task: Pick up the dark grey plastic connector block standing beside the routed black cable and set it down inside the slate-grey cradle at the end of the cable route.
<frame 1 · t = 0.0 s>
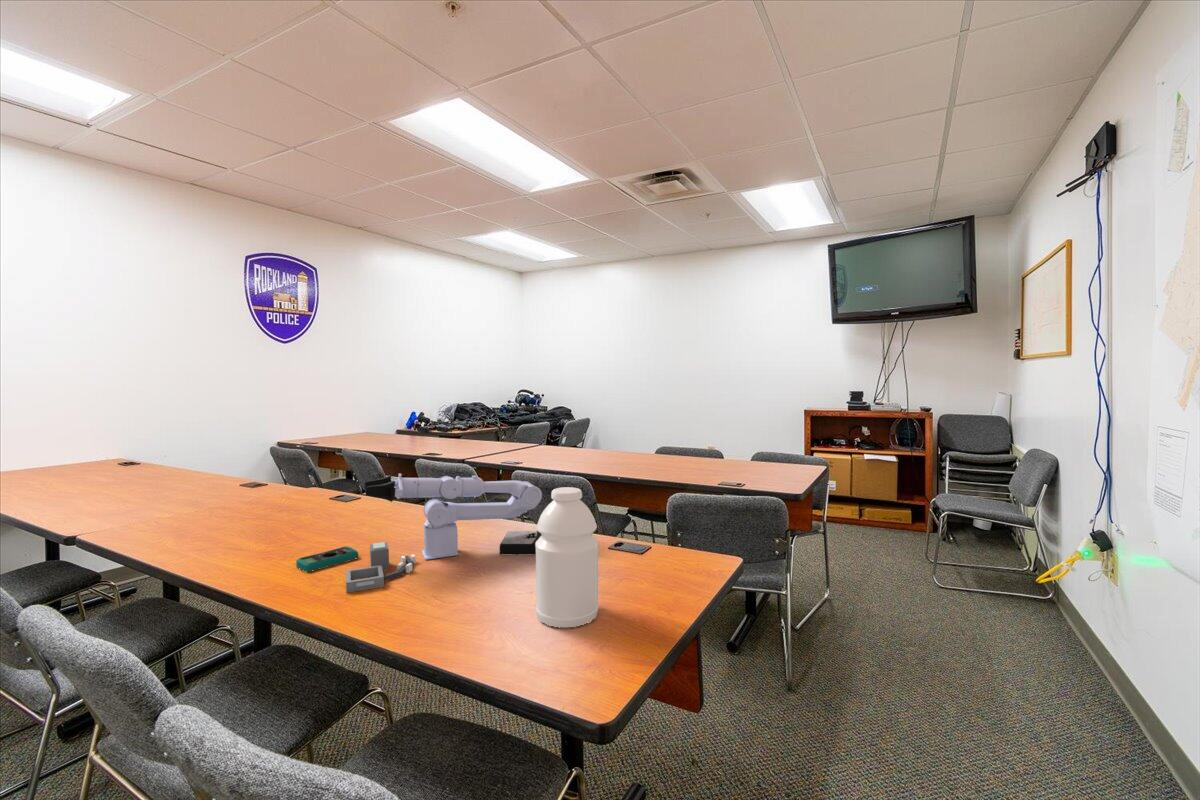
hand: (365, 488, 145), 22 cm above the table, tool horizontal, fingers open, 7 cm apart
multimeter: (534, 549, 160), on the table
connector block: (379, 567, 143), on the table
bottle: (567, 615, 115), on the table
routed cable: (404, 568, 142), on the table
cradle: (364, 583, 133), on the table
digital multimeter: (328, 564, 148), on the table
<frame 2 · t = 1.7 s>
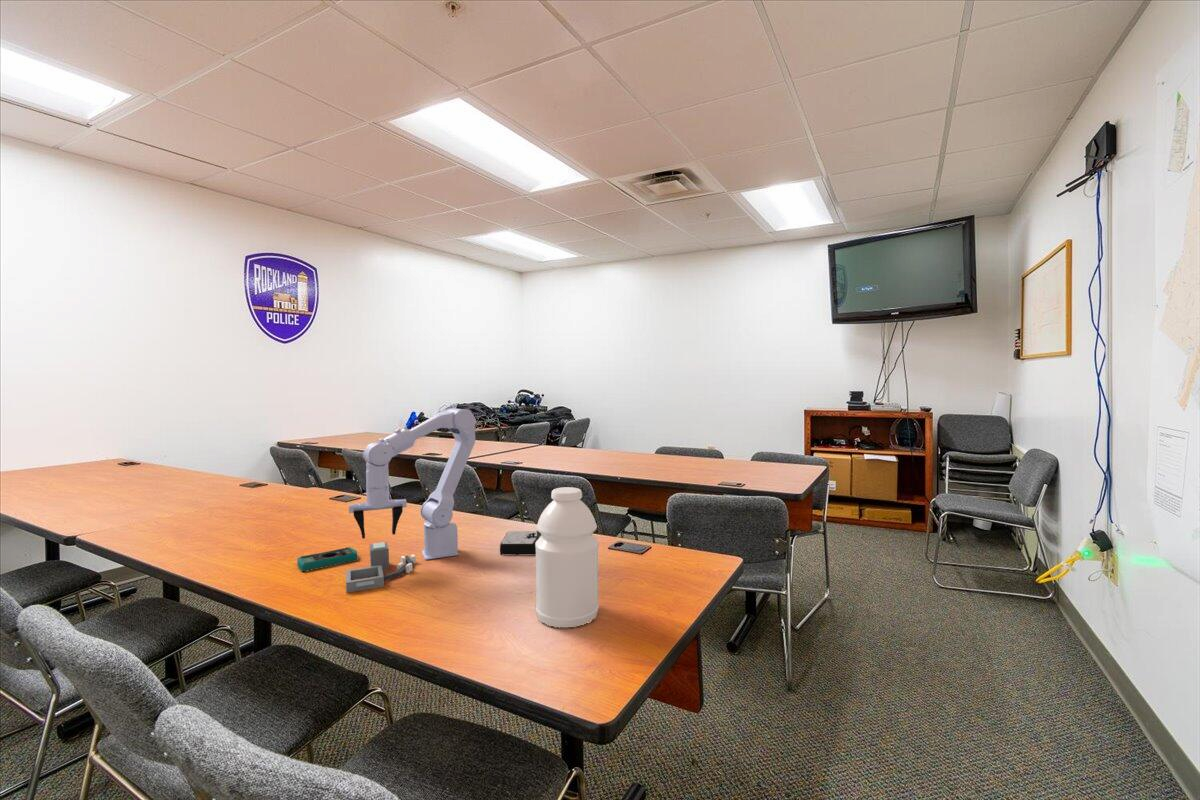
hand: (378, 535, 143), 9 cm above the table, tool pointing down, fingers open, 7 cm apart
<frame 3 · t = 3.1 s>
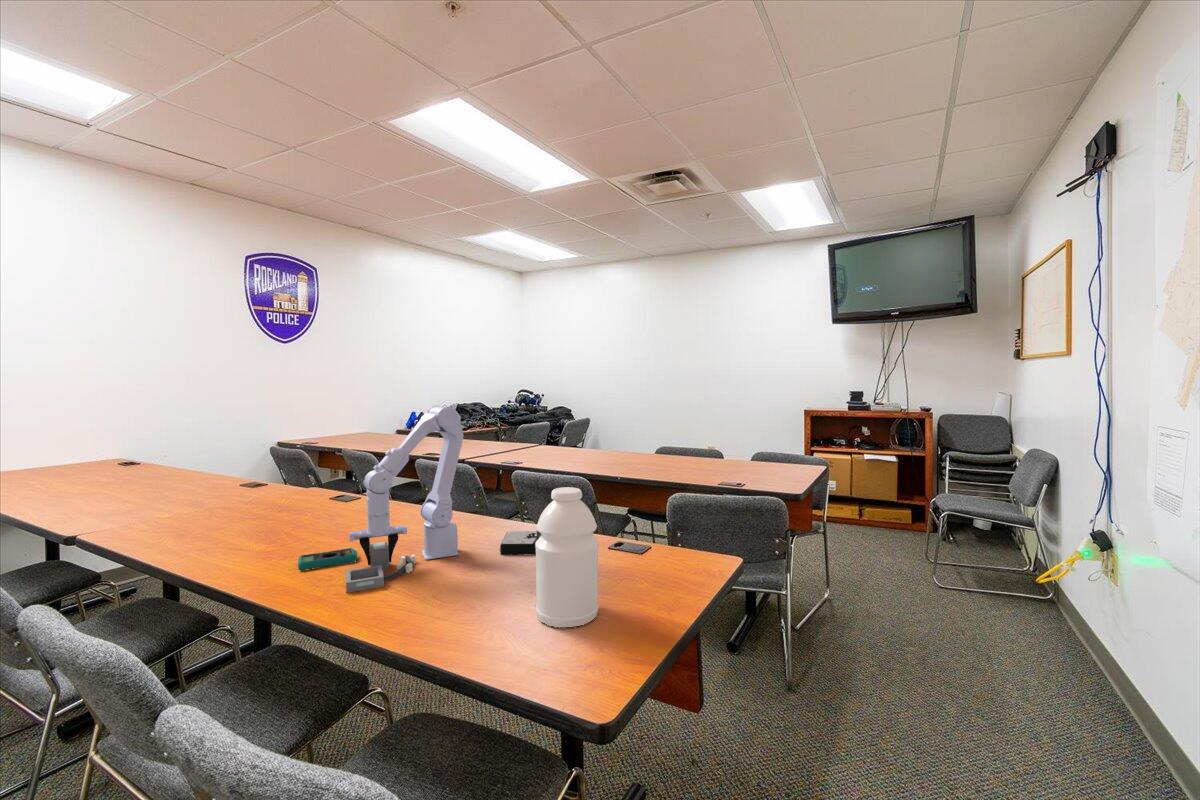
hand: (379, 562, 143), 1 cm above the table, tool pointing down, fingers closed on connector block, 4 cm apart
connector block: (379, 567, 143), on the table, touching gripper
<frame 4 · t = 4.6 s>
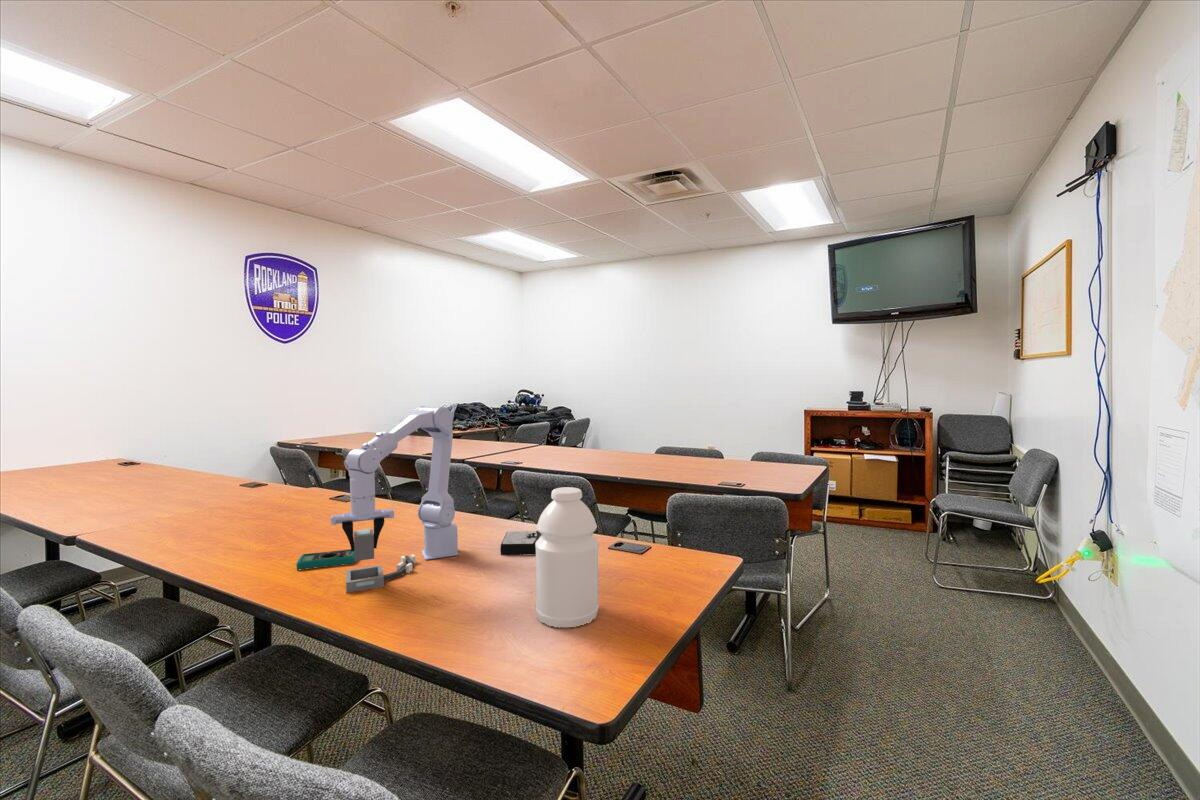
hand: (364, 548, 132), 9 cm above the table, tool pointing down, fingers closed on connector block, 4 cm apart
connector block: (364, 556, 133), point 7 cm above the table, touching gripper
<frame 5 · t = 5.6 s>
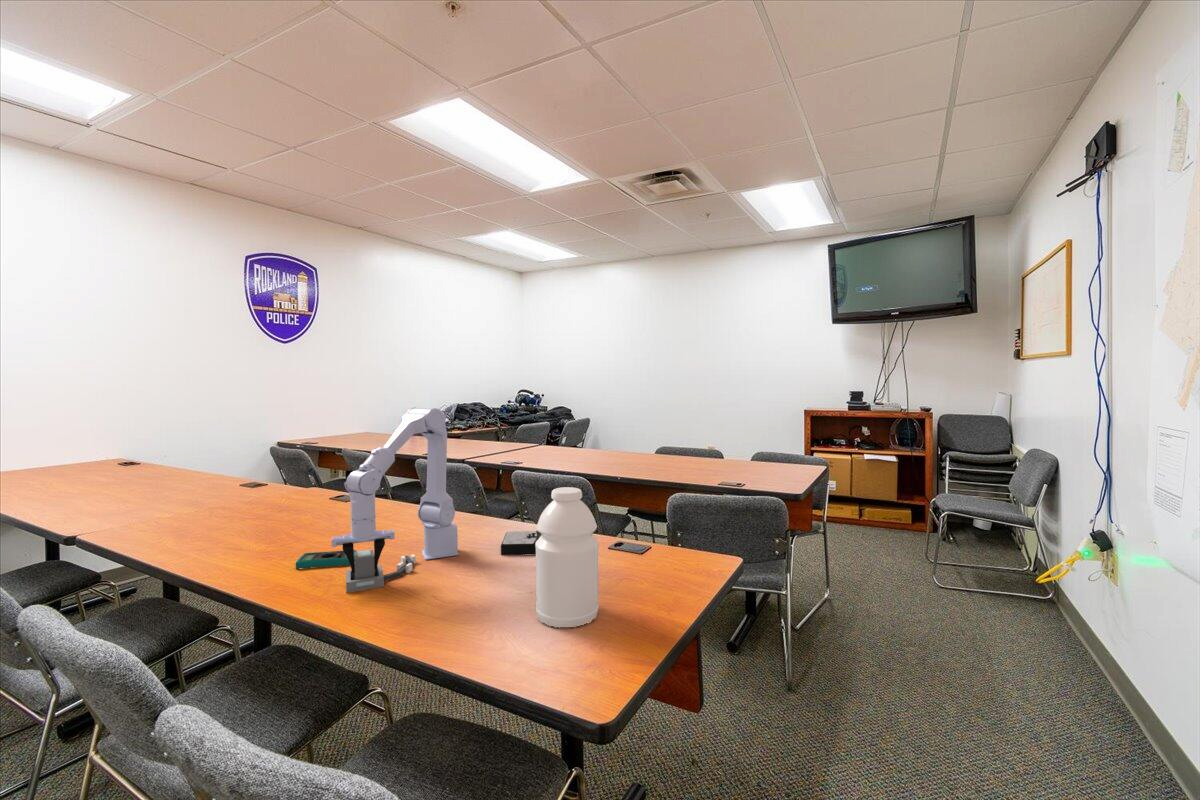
hand: (364, 569, 132), 3 cm above the table, tool pointing down, fingers closed on connector block, 4 cm apart
connector block: (364, 577, 133), point 1 cm above the table, touching gripper
when the fingers open (3 cm above the table, at t = 6.2 s): connector block drops 1 cm, resting in cradle.
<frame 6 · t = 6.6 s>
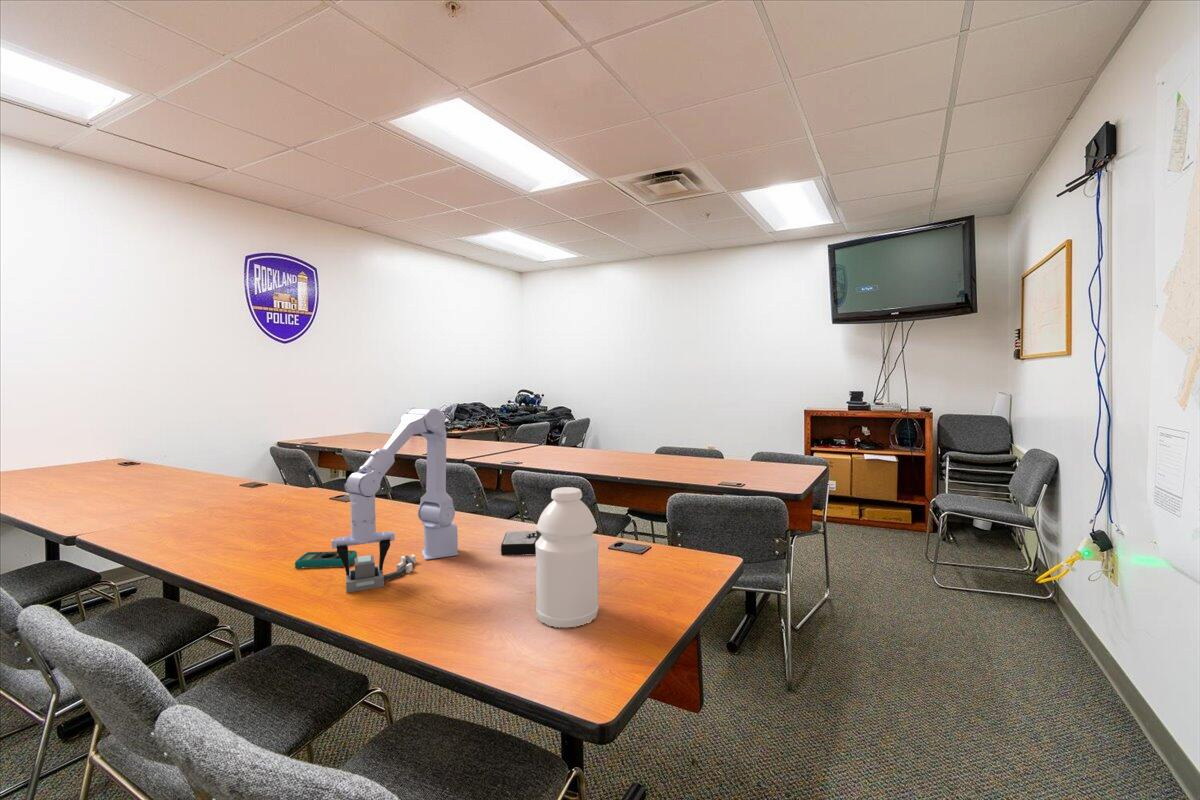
hand: (364, 571, 133), 3 cm above the table, tool pointing down, fingers open, 7 cm apart
connector block: (365, 583, 133), resting in cradle
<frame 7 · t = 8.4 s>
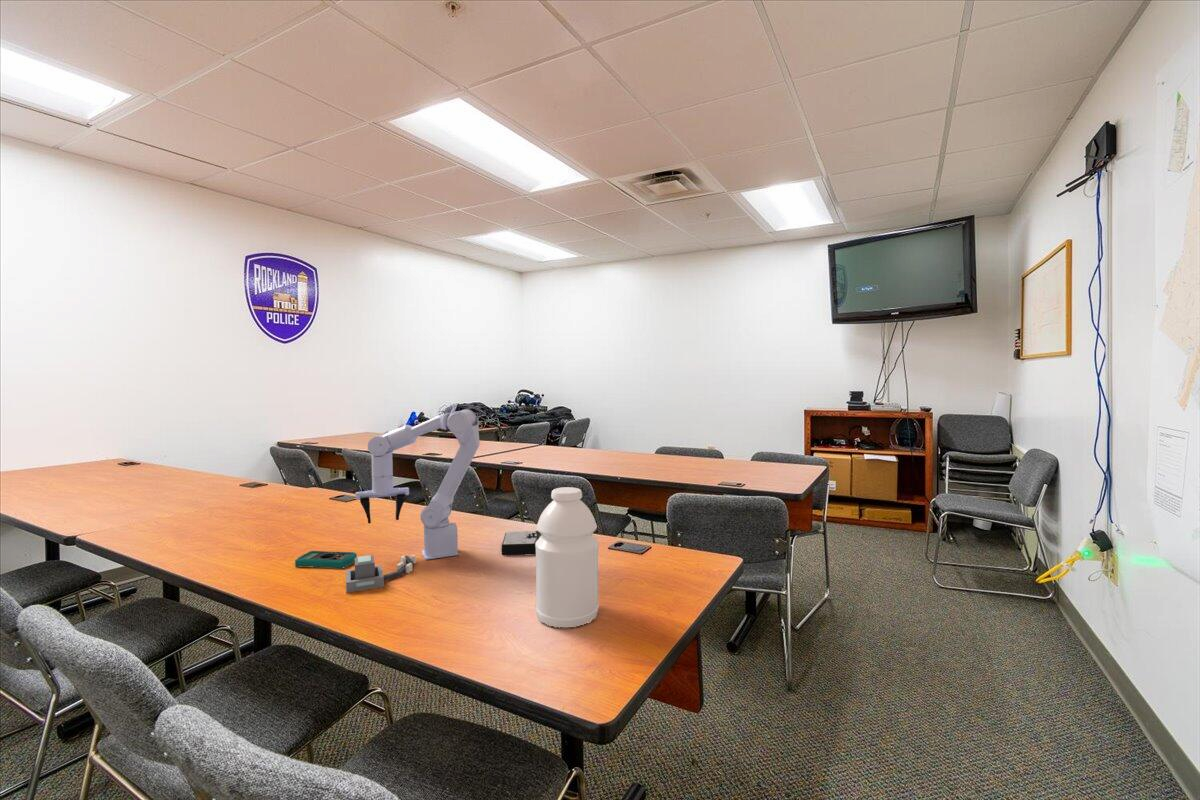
hand: (383, 520, 154), 10 cm above the table, tool pointing down, fingers open, 7 cm apart
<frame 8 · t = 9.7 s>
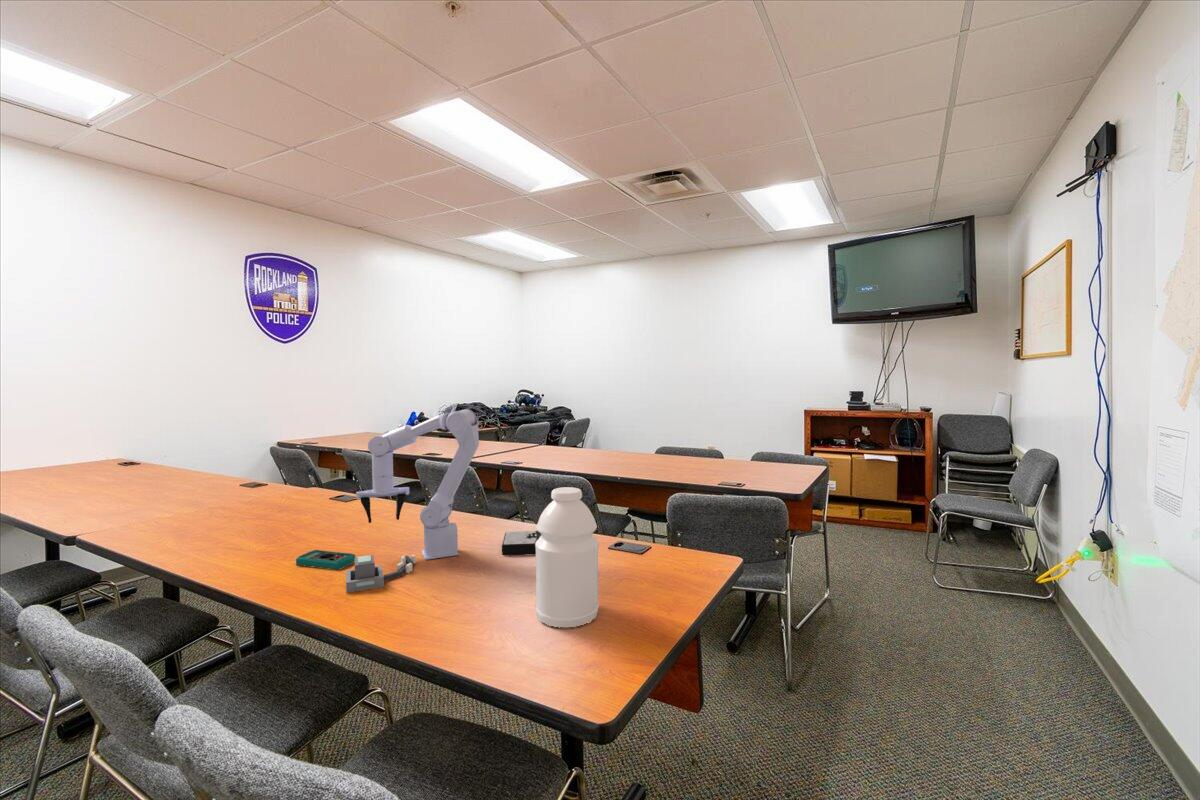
hand: (383, 520, 155), 10 cm above the table, tool pointing down, fingers open, 7 cm apart
at the end: connector block inside the target area (0.2 cm from its centre), resting in cradle; connector block tilted 0°; the gripper is holding nothing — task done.
